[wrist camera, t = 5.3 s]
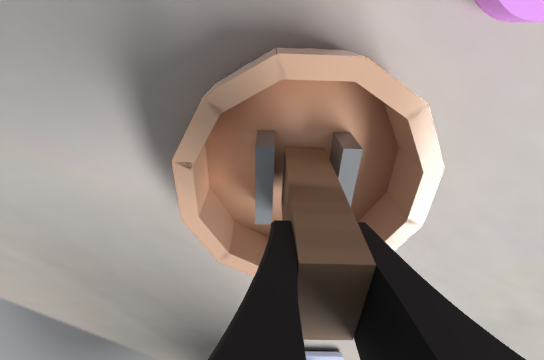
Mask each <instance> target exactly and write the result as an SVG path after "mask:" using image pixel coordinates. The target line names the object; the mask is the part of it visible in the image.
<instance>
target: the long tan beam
mask: <svg viewBox="0 0 544 360" xmlns="http://www.w3.org/2000/svg"><path fill="white" fill-rule="evenodd" d="M281 206H282V220H284V221H291V223H292V228H293V233H294V238H295V244H296V251H297V284H298V305H299V313H300V320H301V327H302V334H303V339H307V340H353V338H354V335H355V331H356V328H357V325H358V322H359V319H360V315H361V312H362V309H363V306H364V303H365V299H366V296H367V293H368V290H369V286H370V283H371V280H372V277H373V274H374V270H375V267H376V263H375V261H374V259H373V257H372V254H371V252H370V250H369V248H368V245H367V243H366V241H365V239H364V236H363V234H362V232H361V229H360V227H359V225H358V223H357V220H356V218H355V216H354V214H353V211H352V209H351V207H350V205H349V202H348V200H347V198H346V196H345V193H344V191H343V189H342V187H341V184H340V182H339V180H338V178H337V175H336V173H335V171H334V169H333V166H332V164H331V162H330V159H329V157H328V155H327V153H326V150H325V148H321V147H289V146H285V150H284V165H283V181H282V197H281Z"/></svg>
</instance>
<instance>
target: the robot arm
mask: <svg viewBox="0 0 544 360" xmlns="http://www.w3.org/2000/svg"><path fill="white" fill-rule="evenodd" d="M357 223H358V225H359V227H360V229H361V232H362V234H363V236H364V239H365V241H366V243H367V245H368V248H369V250H370V252H371V254H372V257H373V259H374V261H375V263H376V267H375V270H374V274H373V277H372V280H371V283H370V286H369V290H368V293H367V296H366V299H365V303H364V306H363V309H362V312H361V315H360V319H359V322H358V325H357V328H356V331H355V335H354V340H355V343H356V346H357V350H358V353H359V356H360V360H526V359H524V358H523V357H521V356H520V355H518V354H517V353H516V352H514V351H513V350H511V349H510V348H509V347H507V346H506V345H505V344H503V343H502V342H500V341H499V340H498V339H496V338H495V337H494V336H493V335H491V334H490V333H489V332H487V331H486V330H485V329H483V328H482V327H481V326H480V325H478V324H477V323H476V322H474V321H473V320H472V319H470V318H469V317H468V316H467V315H465V314H464V313H463V312H462V311H460V310H459V309H458V308H457V307H456V306H454V305H453V304H452V303H451V302H450V301H448V300H447V299H446V298H445V297H444V296H443V295H441V294H440V293H439V292H438V291H437V290H436V289H435V288H433V287H432V286H431V285H430V284H429V283H428V282H427V281H425V280H424V279H423V278H422V277H421V276H420V275H419V274H418V273H417V272H416V271H415V270H413V269H412V268H411V267H410V266H409V265H408V264H407V263H406V262H405V261H404V260H403V259H402V258H401V257H400V256H399V255H398V254H397V253H396V252H395V251H394V250H393V249H392V248H391V247H390V246H389V245H388V244H387V243H386V242H385V241H384V240H383V239H382V238H381V237H380V236H379V235H378V234H377V233H376V232H375V231H374V230H373V229H372V228H371V227H370V226H368V225H367V224H366V223H365V222H357ZM208 360H343V354H342V353H341V352H322V351H305V348H304V342H303V334H302V327H301V320H300V313H299V305H298V284H297V251H296V244H295V238H294V233H293V228H292V223H291V221H284V220H274V221H273V222H272V223H271V229H270V235H269V239H268V242H267V245H266V248H265V251H264V254H263V257H262V259H261V262H260V264H259V267H258V269H257V272H256V274H255V276H254V278H253V280H252V283H251V285H250V287H249V289H248V291H247V293H246V295H245V297H244V299H243V301H242V303H241V305H240V307H239V309H238V310H237V312H236V314H235V316H234V318H233V319H232V321H231V323H230V325H229V326H228V328H227V330H226V332H225V333H224V335H223V337H222V338H221V340H220V341H219V343H218V345H217V346H216V348H215V349H214V351H213V353H212V354H211V356H210V357H209V359H208Z"/></svg>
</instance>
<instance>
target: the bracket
mask: <svg viewBox="0 0 544 360" xmlns="http://www.w3.org/2000/svg"><path fill="white" fill-rule="evenodd" d="M475 1H476V3H477V4H478V6H479V7H480V8H481V9H482V10H483V11H484V12H485V13H486V14H488V15H489V16H491V17H493V18H495V19H497V20H501V21H505V22H544V0H475Z"/></svg>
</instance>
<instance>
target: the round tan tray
mask: <svg viewBox="0 0 544 360" xmlns="http://www.w3.org/2000/svg"><path fill="white" fill-rule="evenodd" d="M285 146H289V147H321V148H325V150H326V153H327V155H328V157H329V159H330V162H331V164H332V166H333V169H334V171H335V173H336V175H337V178H338V180H339V182H340V184H341V187H342V189H343V191H344V193H345V196H346V198H347V200H348V202H349V205H350V207H351V209H352V211H353V214H354V216H355V218H356V220H357V222H365V223H366V224H367V225H368V226H370V227H371V228H372V229H373V230H374V231H375V232H376V233H377V234H378V235H379V236H380V237H381V238H382V239H383V240H384V241H385V242H386V243H387V244H388V245H389V246H390V247H391V248H392V249H393V250H394V251H395V250H396V249H397V248H398V247H399V246H400V245H401V244H403V243H404V242H405V241H406V240H407V239H408V238H409V237H410V236H412V235H413V234H414V233H415V232H416V231H417V230H418V229H420V228H421V227H422V225H423V224H424V221H425V219H426V216H427V213H428V211H429V208H430V206H431V203H432V200H433V198H434V195H435V193H436V190H437V187H438V185H439V182H440V180H441V177H442V175H443V172H444V168H445V167H444V163H443V159H442V155H441V151H440V147H439V143H438V139H437V135H436V131H435V127H434V123H433V119H432V115H431V111H430V107H429V104H428V103H427V102H426V101H424V100H423V99H422V98H420V97H419V96H418V95H416V94H415V93H414V92H412V91H411V90H410V89H408V88H407V87H406V86H404V85H403V84H402V83H401V82H399V81H398V80H397V79H395V78H394V77H393V76H391V75H390V74H389V73H387V72H386V71H385V70H383V69H382V68H381V67H379V66H378V65H377V64H375V63H374V62H373V61H371V60H370V59H369V58H368V57H366V56H363V55H360V54H357V53H354V52H351V51H348V50H329V49H315V48H276V49H275V48H274V49H272V50H271V51H269V52H267V53H266V54H264V55H262V56H261V57H259V58H257V59H255V60H253V61H251V62H249V63H247V64H245V65H244V66H243V67H241V68H240V69H238V70H237V71H235V72H234V73H232V74H230V75H229V76H227V77H225V78H223V79H222V80H220V81H218V82H217V83H215V84H214V85H213V86H212V88H211V89H210V90H209V91H208V92H207V93H206V94H205V95H204V96H203V97H202V99H201V101H200V103H199V105H198V107H197V109H196V112H195V114H194V116H193V118H192V120H191V122H190V124H189V126H188V128H187V130H186V132H185V134H184V136H183V138H182V140H181V142H180V144H179V147H178V149H177V151H176V153H175V155H174V157H173V159H172V168H173V174H174V180H175V186H176V192H177V198H178V204H179V210H180V216H181V220H182V222H183V223H184V224H185V225H186V226H187V227H188V229H189V230H190V231H191V232H192V233H193V234H194V235H195V236H196V238H197V239H198V240H199V241H200V242H201V243H202V244H203V246H204V247H205V248H206V249H207V250H208V251H209V252H210V253H211V255H212V256H213V257H214V258H215V259H216V260H217V261H218V262H220V263H222V264H224V265H227V266H229V267H232V268H234V269H236V270H239V271H241V272H243V273H246V274H248V275H251V276H253V277H254V276H255V274H256V272H257V269H258V267H259V264H260V262H261V259H262V257H263V254H264V251H265V248H266V245H267V242H268V239H269V235H270V229H271V223H272V222H273V221H274V220H282V206H281V197H282V181H283V165H284V150H285Z"/></svg>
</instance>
